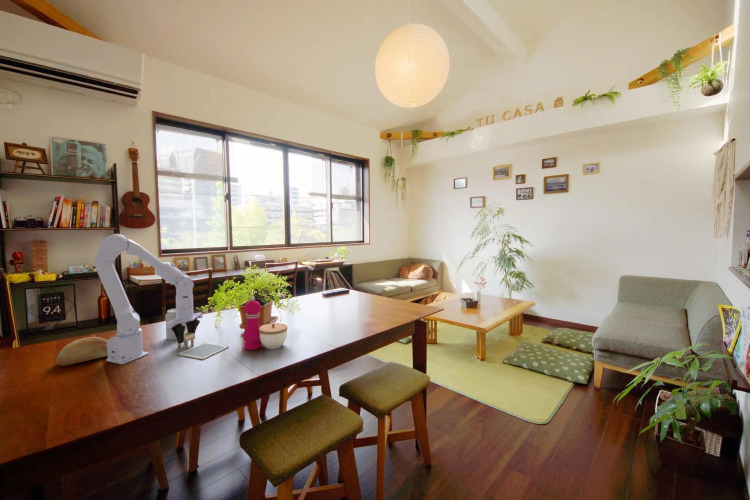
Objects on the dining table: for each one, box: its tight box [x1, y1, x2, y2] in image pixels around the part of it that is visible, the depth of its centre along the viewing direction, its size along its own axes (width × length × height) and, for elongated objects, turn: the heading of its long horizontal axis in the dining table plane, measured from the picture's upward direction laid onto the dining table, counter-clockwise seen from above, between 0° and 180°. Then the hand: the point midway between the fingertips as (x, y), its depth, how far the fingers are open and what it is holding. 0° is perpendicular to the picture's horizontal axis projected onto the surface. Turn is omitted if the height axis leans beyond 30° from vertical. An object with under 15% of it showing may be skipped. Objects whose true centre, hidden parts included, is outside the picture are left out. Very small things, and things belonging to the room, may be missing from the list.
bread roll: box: [55, 336, 109, 367], centre depth 110 cm, size 10×15×8 cm, turn 136°
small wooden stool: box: [175, 332, 196, 350], centre depth 123 cm, size 5×4×5 cm
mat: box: [177, 342, 229, 361], centre depth 119 cm, size 12×12×1 cm
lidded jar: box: [259, 322, 288, 350], centre depth 125 cm, size 11×11×9 cm
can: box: [164, 308, 187, 341], centre depth 132 cm, size 8×8×12 cm
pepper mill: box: [242, 296, 262, 351], centre depth 124 cm, size 7×7×20 cm
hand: (185, 340), depth 123 cm, fingers closed on small wooden stool, 4 cm apart
